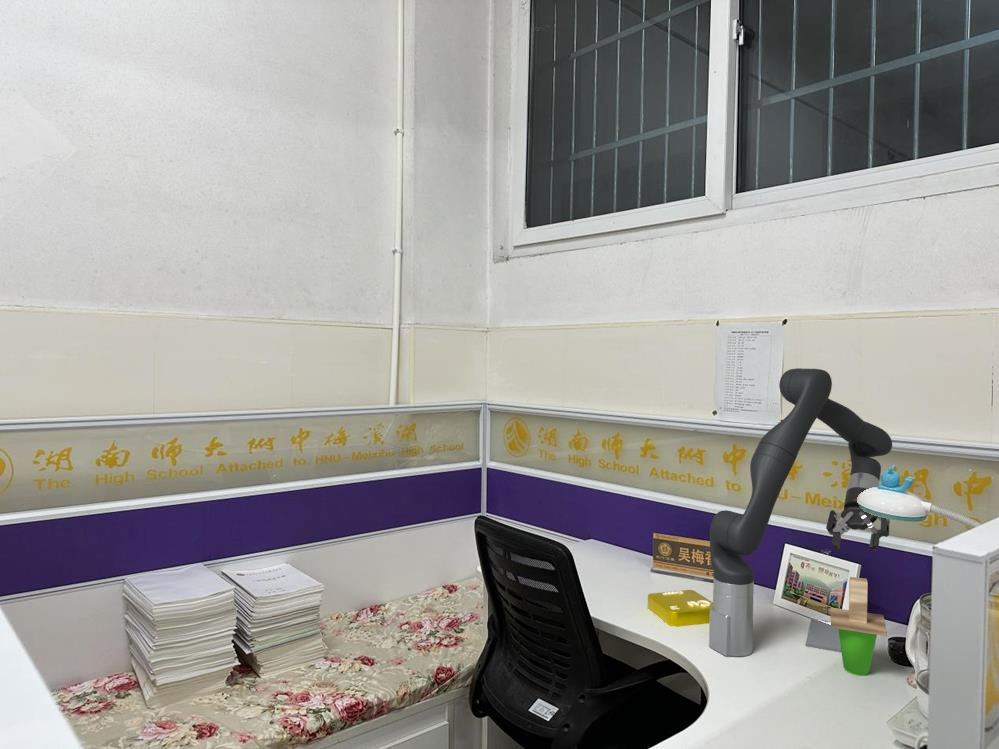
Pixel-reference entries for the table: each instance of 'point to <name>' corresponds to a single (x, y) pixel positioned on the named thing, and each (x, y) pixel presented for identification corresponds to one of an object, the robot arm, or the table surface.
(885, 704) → the table surface
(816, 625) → the mat
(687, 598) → the element tile
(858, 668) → the cup
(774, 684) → the table surface
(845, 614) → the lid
